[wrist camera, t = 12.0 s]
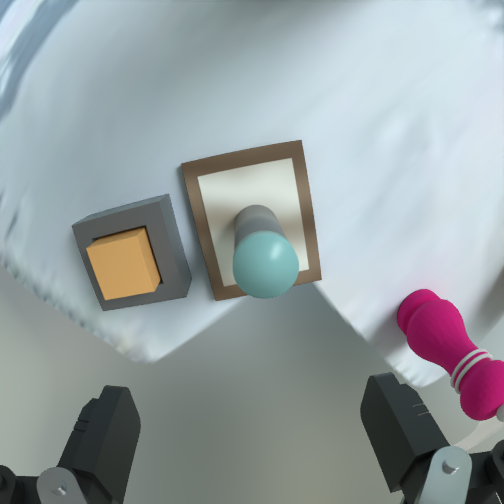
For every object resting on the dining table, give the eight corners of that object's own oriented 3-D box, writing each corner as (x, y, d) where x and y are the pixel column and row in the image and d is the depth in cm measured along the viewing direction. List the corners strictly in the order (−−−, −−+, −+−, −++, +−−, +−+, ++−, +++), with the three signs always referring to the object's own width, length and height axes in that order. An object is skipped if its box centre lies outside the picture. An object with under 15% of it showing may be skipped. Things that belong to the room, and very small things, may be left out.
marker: (229, 208, 28) (225, 245, 19) (274, 199, 28) (293, 230, 19) (238, 251, 30) (240, 304, 20) (282, 242, 30) (303, 290, 20)
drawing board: (183, 163, 28) (181, 164, 27) (299, 140, 28) (301, 139, 26) (216, 296, 32) (215, 301, 31) (319, 275, 32) (321, 280, 31)
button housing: (89, 215, 29) (71, 225, 25) (168, 193, 29) (159, 201, 25) (115, 293, 32) (102, 311, 28) (191, 278, 32) (186, 296, 28)
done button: (103, 234, 27) (86, 248, 24) (149, 223, 27) (136, 235, 24) (119, 281, 29) (105, 300, 25) (164, 272, 29) (154, 291, 25)
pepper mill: (384, 309, 34) (475, 432, 15) (430, 273, 33) (540, 371, 14) (404, 343, 36) (479, 454, 18) (445, 311, 35) (535, 405, 16)
